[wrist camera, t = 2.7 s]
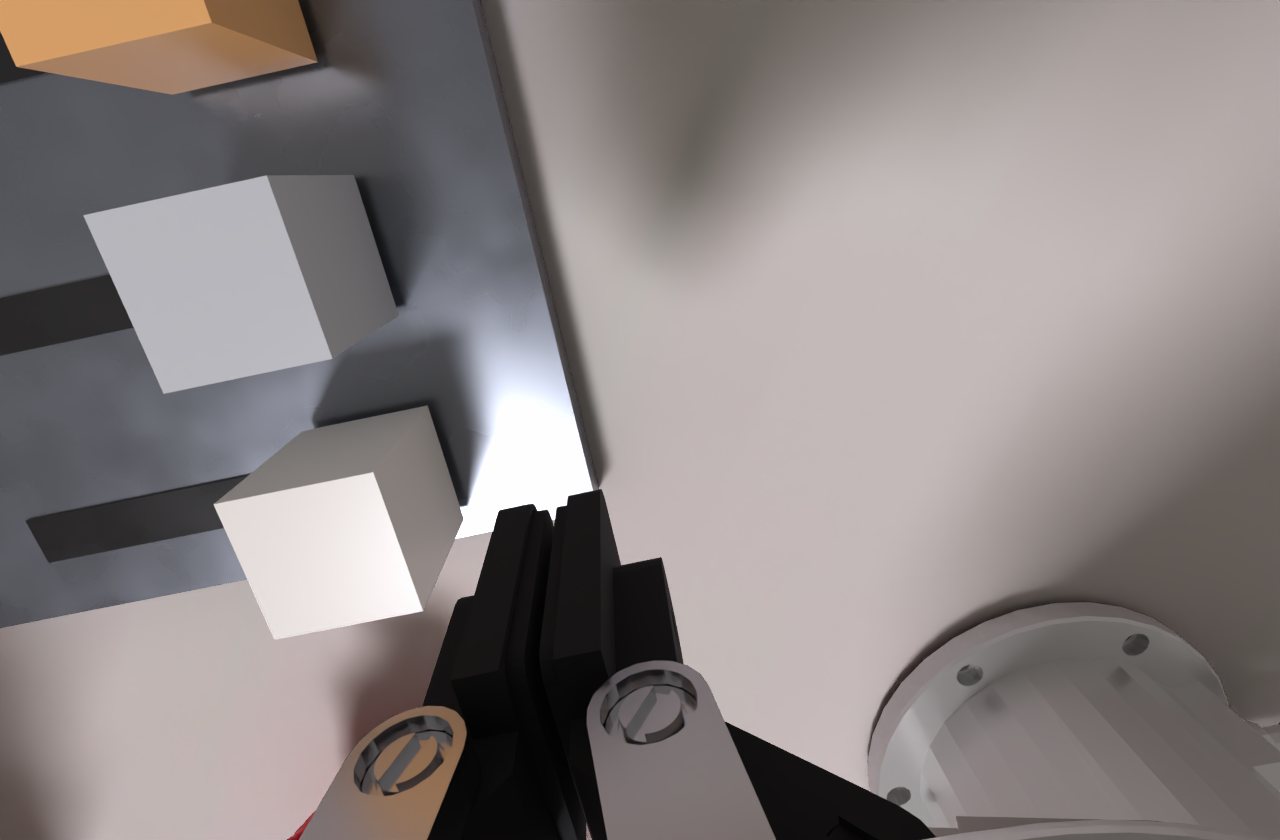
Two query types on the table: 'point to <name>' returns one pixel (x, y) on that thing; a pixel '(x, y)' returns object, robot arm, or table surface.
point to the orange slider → (157, 40)
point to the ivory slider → (345, 523)
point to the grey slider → (246, 276)
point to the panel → (288, 398)
